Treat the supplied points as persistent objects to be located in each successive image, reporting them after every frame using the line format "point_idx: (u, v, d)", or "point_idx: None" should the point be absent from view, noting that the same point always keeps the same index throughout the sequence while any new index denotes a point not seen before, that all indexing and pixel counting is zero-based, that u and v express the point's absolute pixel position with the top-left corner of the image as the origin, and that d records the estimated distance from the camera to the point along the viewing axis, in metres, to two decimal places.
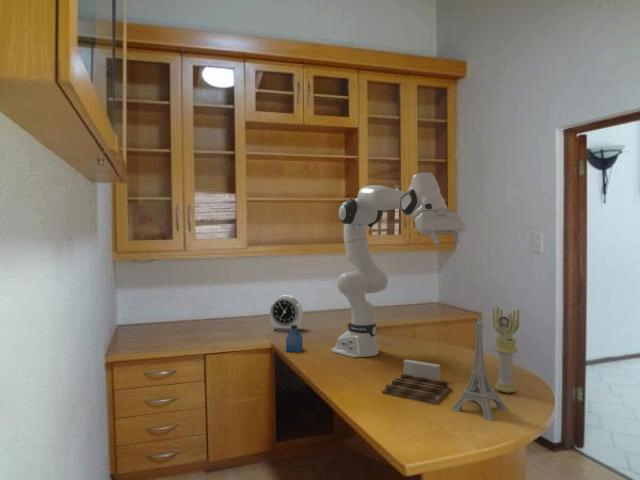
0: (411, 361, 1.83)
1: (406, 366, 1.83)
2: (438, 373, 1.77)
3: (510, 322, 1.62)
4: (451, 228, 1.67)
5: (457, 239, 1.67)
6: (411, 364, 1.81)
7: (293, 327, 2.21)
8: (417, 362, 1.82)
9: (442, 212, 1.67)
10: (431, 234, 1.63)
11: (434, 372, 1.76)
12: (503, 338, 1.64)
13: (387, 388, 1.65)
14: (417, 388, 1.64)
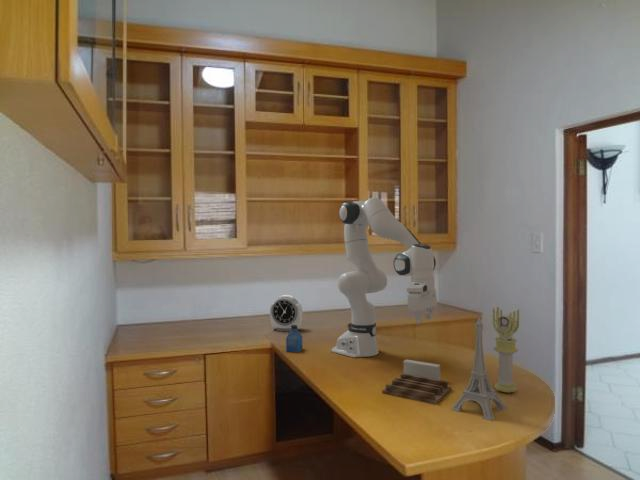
0: (411, 361, 1.83)
1: (406, 366, 1.83)
2: (438, 373, 1.77)
3: (510, 322, 1.62)
4: (430, 307, 1.80)
5: (430, 316, 1.82)
6: (411, 364, 1.81)
7: (293, 327, 2.21)
8: (417, 362, 1.81)
9: (430, 293, 1.77)
10: (417, 314, 1.73)
11: (434, 372, 1.76)
12: (503, 338, 1.64)
13: (387, 388, 1.65)
14: (417, 388, 1.64)
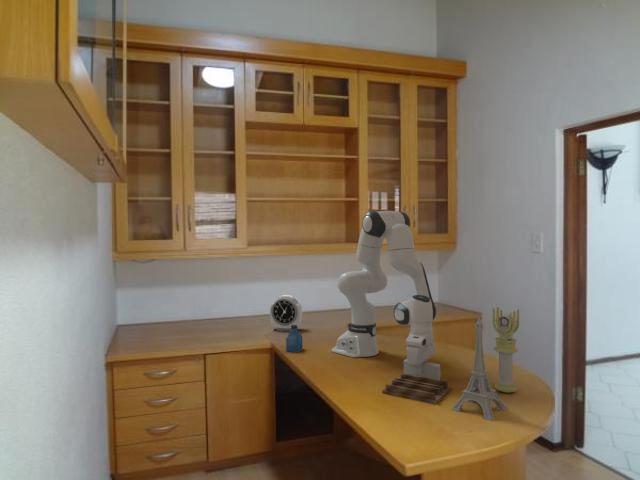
0: None
1: (406, 365, 1.83)
2: (438, 373, 1.77)
3: (510, 322, 1.62)
4: (428, 357, 1.82)
5: None
6: None
7: (293, 327, 2.21)
8: None
9: (429, 345, 1.79)
10: (418, 365, 1.77)
11: (434, 372, 1.76)
12: (503, 338, 1.64)
13: (387, 388, 1.65)
14: (417, 388, 1.64)
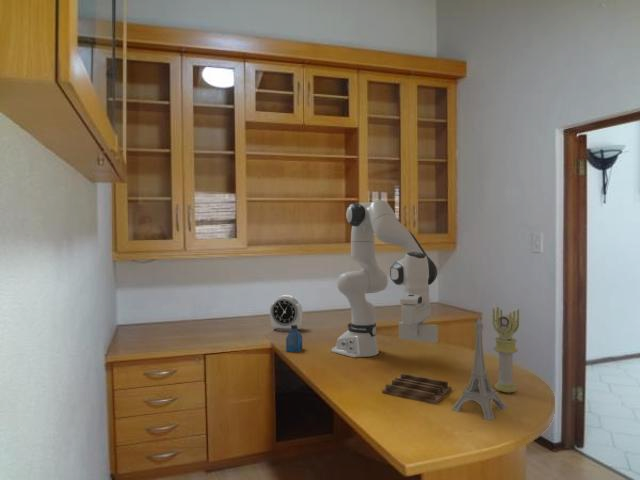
0: None
1: (401, 328, 1.71)
2: (436, 333, 1.65)
3: (510, 322, 1.62)
4: (424, 319, 1.70)
5: None
6: None
7: (293, 327, 2.21)
8: None
9: (425, 304, 1.67)
10: (414, 326, 1.65)
11: (431, 333, 1.65)
12: (503, 338, 1.64)
13: (387, 388, 1.65)
14: (417, 388, 1.64)
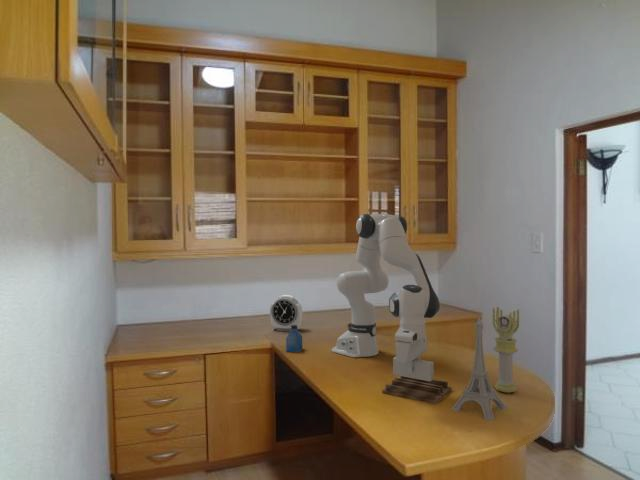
0: None
1: (396, 363, 1.64)
2: (431, 371, 1.58)
3: (510, 322, 1.62)
4: (420, 354, 1.64)
5: None
6: None
7: (293, 327, 2.21)
8: None
9: (420, 340, 1.60)
10: (409, 363, 1.59)
11: (427, 370, 1.58)
12: (503, 338, 1.64)
13: (387, 388, 1.65)
14: (417, 388, 1.64)
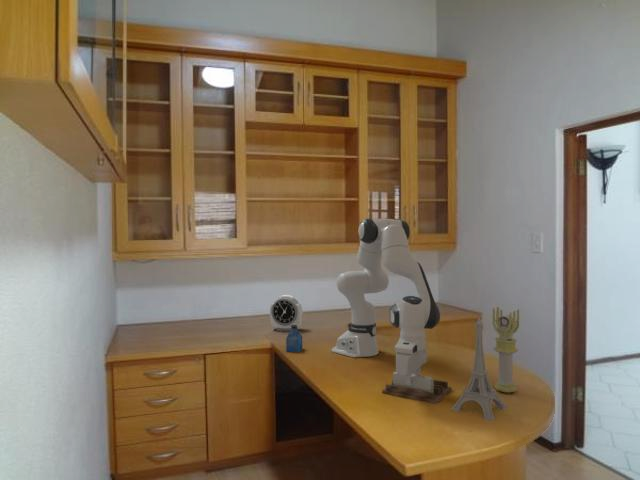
0: None
1: (396, 378, 1.65)
2: (431, 387, 1.59)
3: (510, 322, 1.62)
4: (420, 366, 1.64)
5: None
6: (401, 376, 1.63)
7: (293, 327, 2.21)
8: None
9: (420, 352, 1.61)
10: (408, 376, 1.58)
11: (427, 386, 1.58)
12: (503, 338, 1.64)
13: (387, 388, 1.65)
14: None
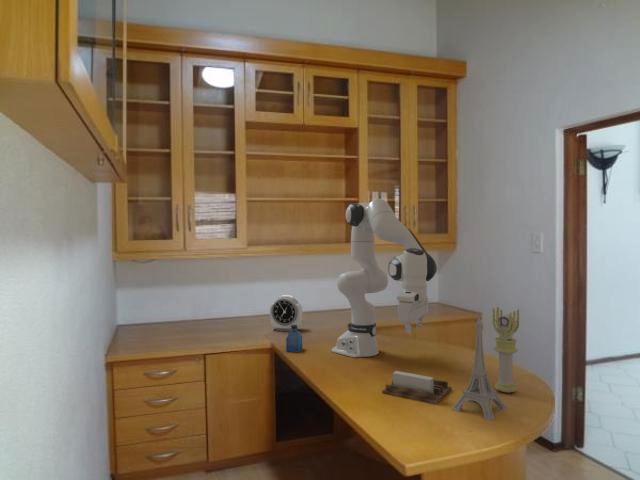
0: (401, 373, 1.65)
1: (396, 378, 1.65)
2: (431, 387, 1.59)
3: (510, 322, 1.62)
4: (421, 316, 1.69)
5: (421, 325, 1.71)
6: (401, 376, 1.63)
7: (293, 327, 2.21)
8: (408, 374, 1.63)
9: (422, 301, 1.66)
10: (408, 325, 1.62)
11: (427, 386, 1.58)
12: (503, 338, 1.64)
13: (387, 388, 1.65)
14: None
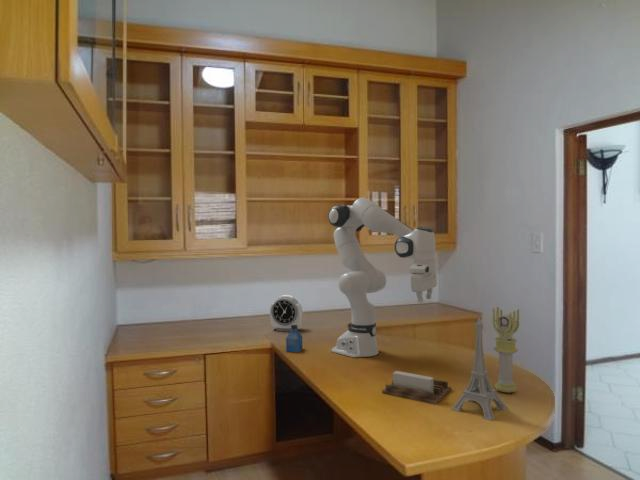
0: (401, 373, 1.65)
1: (396, 378, 1.65)
2: (431, 387, 1.59)
3: (510, 322, 1.62)
4: (431, 287, 1.90)
5: (430, 296, 1.92)
6: (401, 376, 1.63)
7: (293, 327, 2.21)
8: (408, 374, 1.63)
9: (431, 274, 1.86)
10: (419, 294, 1.83)
11: (427, 386, 1.58)
12: (503, 338, 1.64)
13: (387, 388, 1.65)
14: None
